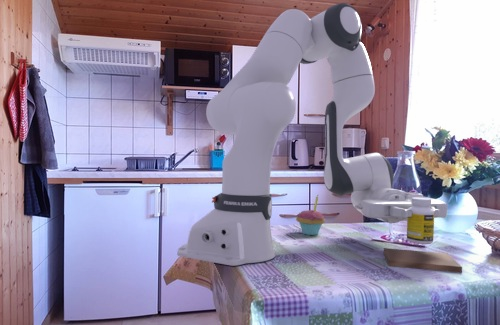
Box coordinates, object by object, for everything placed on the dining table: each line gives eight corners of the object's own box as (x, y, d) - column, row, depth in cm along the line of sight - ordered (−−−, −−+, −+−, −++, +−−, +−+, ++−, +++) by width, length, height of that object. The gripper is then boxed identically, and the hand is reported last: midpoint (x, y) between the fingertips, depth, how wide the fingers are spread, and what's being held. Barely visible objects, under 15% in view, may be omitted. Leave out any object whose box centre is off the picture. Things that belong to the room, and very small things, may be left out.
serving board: (388, 265, 76) (388, 260, 76) (383, 252, 86) (383, 248, 86) (461, 272, 72) (462, 266, 72) (447, 258, 82) (447, 253, 82)
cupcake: (322, 231, 111) (323, 193, 111) (326, 237, 103) (327, 196, 103) (295, 230, 112) (296, 192, 112) (296, 235, 104) (297, 195, 103)
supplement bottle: (425, 246, 75) (426, 200, 75) (401, 240, 80) (402, 197, 80) (438, 242, 79) (439, 198, 78) (414, 237, 83) (415, 196, 83)
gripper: (352, 193, 90) (379, 199, 77) (425, 193, 93) (464, 199, 80) (351, 217, 90) (379, 228, 77) (424, 217, 94) (463, 227, 80)
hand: (423, 214), depth 78 cm, fingers closed on supplement bottle, 5 cm apart
